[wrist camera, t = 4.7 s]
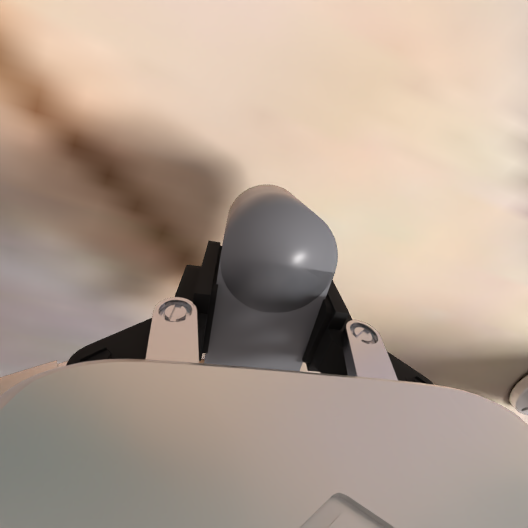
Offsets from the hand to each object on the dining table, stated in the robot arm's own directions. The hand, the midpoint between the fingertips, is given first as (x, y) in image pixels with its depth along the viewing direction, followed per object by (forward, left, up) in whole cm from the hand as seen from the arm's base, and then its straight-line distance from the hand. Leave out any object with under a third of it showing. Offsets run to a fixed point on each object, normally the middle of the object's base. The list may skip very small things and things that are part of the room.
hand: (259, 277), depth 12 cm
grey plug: (0, +1, -2) cm, 2 cm away
